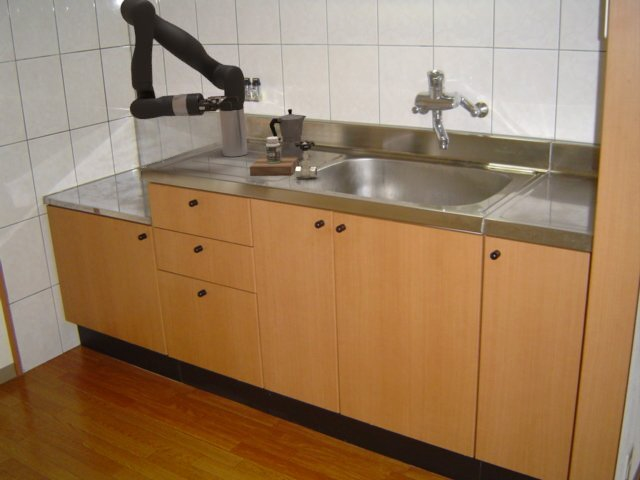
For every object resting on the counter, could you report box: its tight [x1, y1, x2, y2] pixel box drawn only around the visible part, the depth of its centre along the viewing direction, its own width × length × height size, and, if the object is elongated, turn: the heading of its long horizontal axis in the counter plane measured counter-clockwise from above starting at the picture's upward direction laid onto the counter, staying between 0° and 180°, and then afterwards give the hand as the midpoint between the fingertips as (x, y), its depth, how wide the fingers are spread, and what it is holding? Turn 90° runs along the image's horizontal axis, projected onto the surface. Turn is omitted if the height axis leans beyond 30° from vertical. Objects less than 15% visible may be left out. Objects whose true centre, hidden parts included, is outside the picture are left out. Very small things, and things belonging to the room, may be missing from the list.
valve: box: [294, 140, 318, 180], centre depth 238 cm, size 7×7×12 cm
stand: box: [249, 156, 300, 177], centre depth 252 cm, size 14×14×3 cm
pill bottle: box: [265, 136, 281, 163], centre depth 250 cm, size 5×5×8 cm
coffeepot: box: [268, 108, 307, 161], centre depth 265 cm, size 15×9×18 cm, turn 125°
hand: (234, 102), depth 247 cm, fingers open, 8 cm apart
